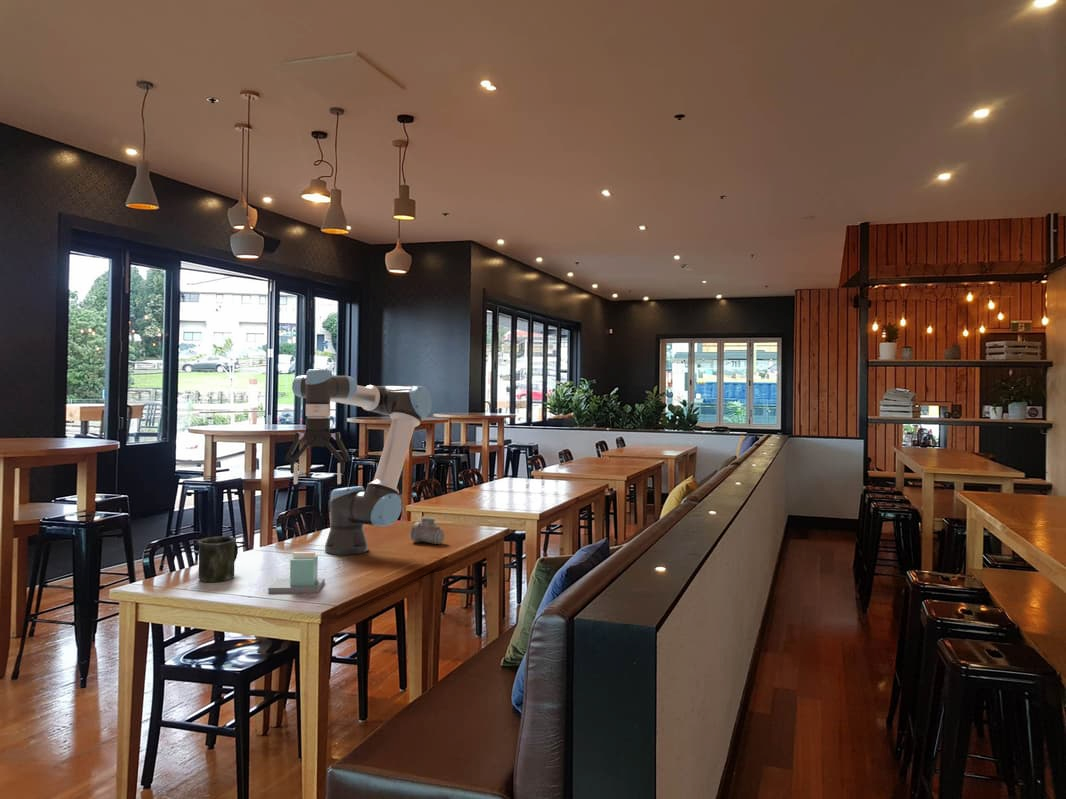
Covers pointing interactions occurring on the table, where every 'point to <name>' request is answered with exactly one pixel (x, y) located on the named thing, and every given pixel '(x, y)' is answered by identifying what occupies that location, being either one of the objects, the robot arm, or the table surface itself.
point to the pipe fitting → (427, 531)
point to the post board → (284, 586)
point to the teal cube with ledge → (303, 569)
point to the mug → (217, 558)
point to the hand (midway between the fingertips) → (317, 483)
